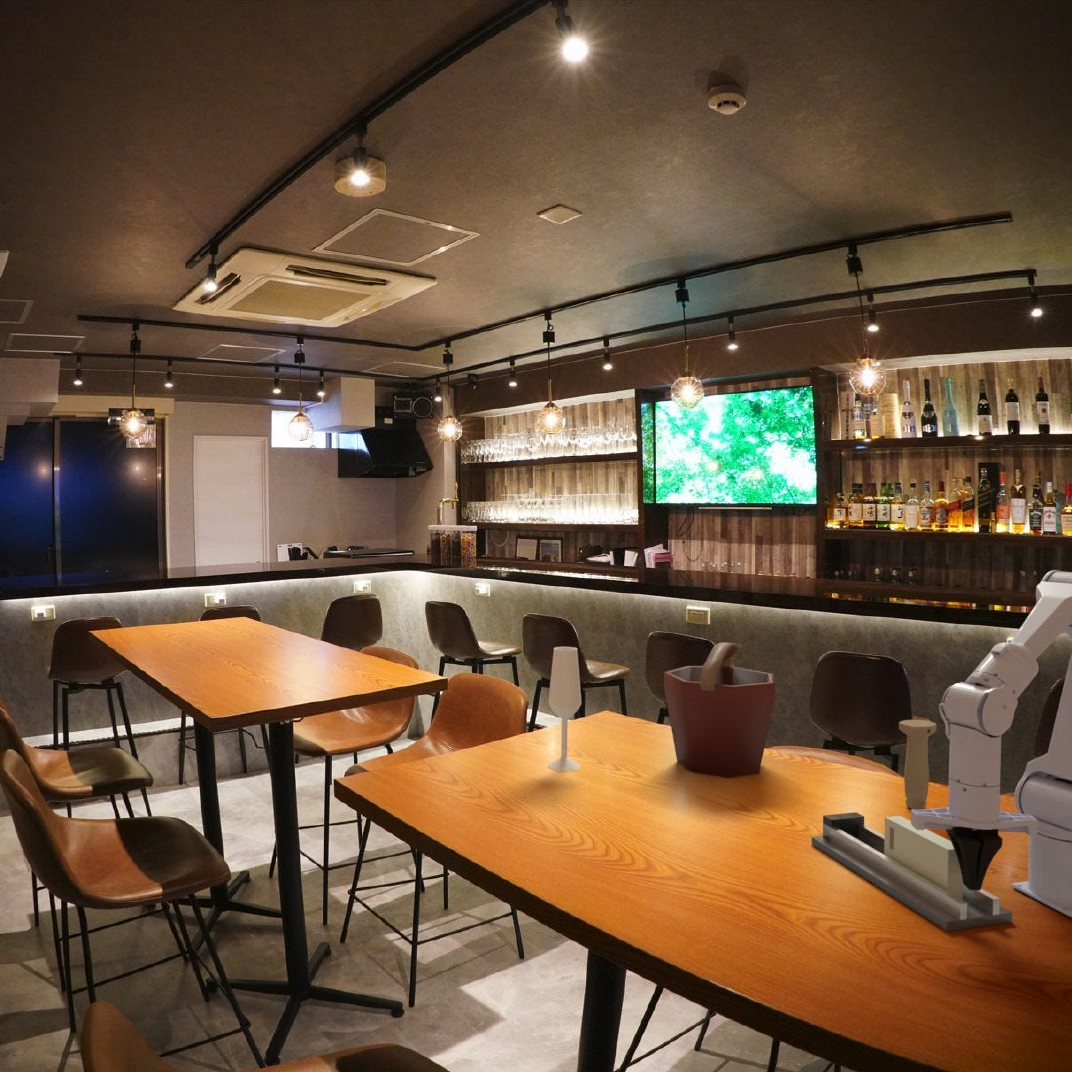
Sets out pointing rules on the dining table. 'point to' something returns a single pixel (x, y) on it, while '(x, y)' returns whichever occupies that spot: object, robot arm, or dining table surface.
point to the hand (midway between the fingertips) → (971, 886)
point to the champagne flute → (564, 698)
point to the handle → (917, 761)
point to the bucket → (719, 714)
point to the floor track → (904, 877)
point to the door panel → (923, 854)
